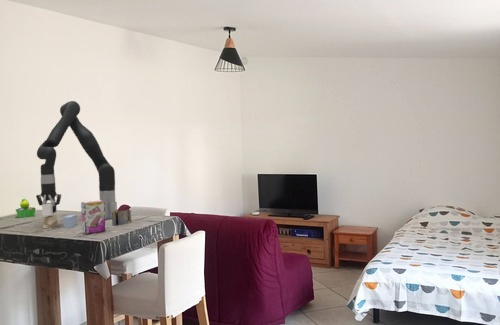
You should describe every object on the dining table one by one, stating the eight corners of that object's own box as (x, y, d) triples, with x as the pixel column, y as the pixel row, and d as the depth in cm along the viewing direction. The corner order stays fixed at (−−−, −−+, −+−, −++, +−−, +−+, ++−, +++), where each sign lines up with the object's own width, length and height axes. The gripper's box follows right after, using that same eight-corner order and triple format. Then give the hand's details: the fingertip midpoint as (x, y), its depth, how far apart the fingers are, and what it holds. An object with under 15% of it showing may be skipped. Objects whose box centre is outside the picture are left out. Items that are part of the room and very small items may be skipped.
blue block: (77, 225, 283) (76, 214, 283) (71, 227, 276) (70, 217, 275) (69, 225, 284) (68, 214, 283) (63, 228, 276) (63, 217, 275)
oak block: (57, 225, 283) (56, 215, 283) (51, 228, 275) (50, 217, 275) (49, 226, 283) (49, 215, 283) (43, 228, 275) (42, 218, 275)
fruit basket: (16, 218, 311) (15, 200, 311) (15, 216, 319) (14, 199, 318) (36, 216, 317) (35, 199, 316) (34, 214, 325) (33, 197, 324)
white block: (56, 212, 282) (56, 202, 282) (50, 215, 274) (50, 204, 274) (49, 213, 283) (48, 202, 282) (42, 215, 275) (42, 204, 274)
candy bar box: (85, 234, 255) (84, 203, 254) (81, 233, 259) (80, 202, 258) (106, 231, 263) (104, 200, 262) (102, 230, 266) (100, 199, 265)
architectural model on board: (115, 226, 278) (115, 209, 277) (112, 226, 279) (111, 209, 279) (131, 223, 287) (131, 206, 286) (128, 222, 288) (127, 206, 288)
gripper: (63, 181, 281) (64, 211, 282) (38, 182, 281) (40, 211, 282) (57, 182, 273) (59, 213, 274) (32, 183, 274) (34, 214, 275)
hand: (49, 212), depth 278 cm, fingers closed on white block, 4 cm apart
